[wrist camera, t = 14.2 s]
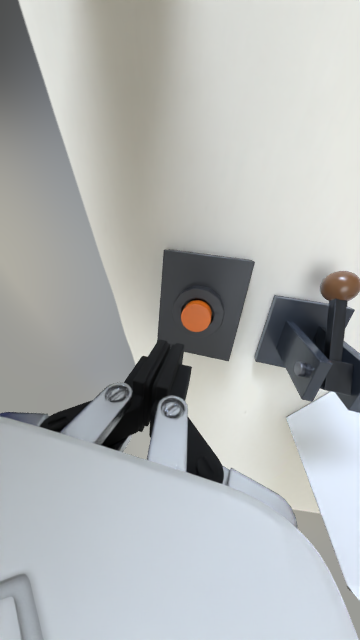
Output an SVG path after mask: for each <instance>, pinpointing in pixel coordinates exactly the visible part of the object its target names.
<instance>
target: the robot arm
mask: <svg viewBox="0 0 360 640" xmlns="http://www.w3.org/2000/svg"><path fill="white" fill-rule="evenodd" d="M183 353H184V344H180V343H176V344H175V345H174V344H172V346H171V348H170V344H169V343H168V341H166V340H161V339H159V340H158V342H157V343H156V345H155V346H154V348H153V350H152V351H151V353H150V354H149V356H148V357H145V356H142V357H141V359H140V360H139V361H138V363H137V364H136V366H135V367H134V369H133V370H132V372H131V373H130V374H129V376H128V377H127V379H126V380H125V382H124V383H113V384H111V385H109V386H108V387H106V388H105V389H104V390H103V391H102V392H101V393H100V394H99V395H98V396H97V397H96V398H95V399H94V400H92V401H89V402H86V403H83V404H80V405H78V406H75V407H72V408H69V409H67V410H63V411H60V412H58V413H56V414H53V415H51V416H48V414H40V413H16V412H6V413H1V414H0V640H359V639H358V637H357V634H356V631H355V629H354V626H353V624H352V621H351V618H350V616H349V613H348V611H347V608H346V606H345V603H344V601H343V599H342V596H341V594H340V592H339V589H338V587H337V585H336V583H335V581H334V579H333V577H332V575H331V573H330V571H329V569H328V567H327V565H326V564H325V562H324V561H323V559H322V557H321V555H320V554H319V552H318V551H317V550H316V548H315V547H314V546H313V545H312V544H311V543H310V541H309V540H308V539H307V538H306V537H305V536H304V535H303V534H302V533H301V532H300V531H299V530H298V528H297V522H296V517H295V514H294V513H293V510H292V508H291V506H290V505H289V504H288V503H287V502H286V500H285V499H284V498H282V497H281V496H280V495H279V494H277V493H275V492H274V491H272V490H270V489H268V488H266V487H265V486H263V485H261V484H259V483H258V482H256V481H254V480H252V479H250V478H249V477H247V476H245V475H243V474H241V473H240V472H238V471H236V470H234V469H233V468H231V469H230V470H229V469H227V468H226V467H224V466H222V464H221V462H220V461H219V459H218V458H217V456H216V455H215V453H214V452H213V451H212V449H211V448H210V447H209V445H208V444H207V442H206V441H205V440H204V438H203V437H202V436H201V434H200V433H199V431H198V430H197V429H196V427H195V426H194V424H193V423H192V422H191V420H190V419H189V418H188V406H187V404H186V402H185V399H186V395H187V390H188V386H189V381H190V375H191V369H192V367H190V366H186V365H182V360H183ZM149 422H150V437H151V441H150V445H149V451H148V456H147V460H146V459H142V458H139V457H136V456H133V455H130V454H126V453H123V451H124V449H125V448H126V446H127V445H128V443H129V442H130V440H131V438H132V434H134V433H136V432H138V431H140V432H142V431H143V429H144V426H148V425H149Z"/></svg>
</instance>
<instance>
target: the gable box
mask: <svg viewBox="0 0 360 640" xmlns="http://www.w3.org/2000/svg"><path fill="white" fill-rule="evenodd" d="M286 419H287V422H288V425H289V428H290V430H291V433H292V436H293V439H294V441H295V444H296V447H297V450H298V452H299V455H300V458H301V461H302V463H303V466H304V469H305V472H306V474H307V477H308V480H309V483H310V486H311V488H312V491H313V494H314V497H315V499H316V502H317V505H318V508H319V510H320V513H321V516H322V519H323V521H324V524H325V527H326V530H327V532H328V535H329V538H330V541H331V544H332V546H333V549H334V552H335V554H336V557H337V560H338V563H339V566H340V568H341V571H342V574H343V577H344V579H345V582H346V585H347V587H348V589H349V590H350V591H351V592H352V593H354V594H355V595H356V597H357V598H358V599H359V600H360V413H358V412H353V411H349V410H348V409H347V408H346V407H345V405H344V404H343V403H342V401H341V400H340V399H339V397H338V396H337V395H336V393H335V392H332V391H331V392H330V393H328V394H326V395H324V396H323V397H321V398H319V399H318V400H316V401H314V402H312V403H311V404H309V405H307V406H305V407H304V408H302V409H300V410H299V411H297V412H295V413H293V414H292V415H290V416H288V417H286Z"/></svg>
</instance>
